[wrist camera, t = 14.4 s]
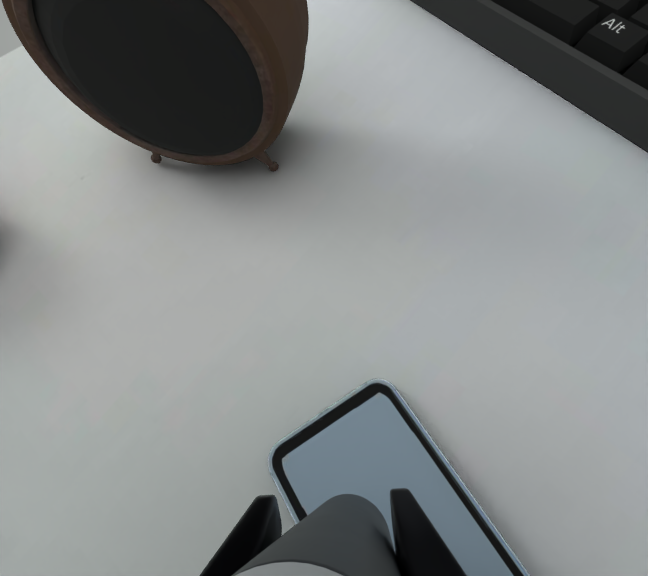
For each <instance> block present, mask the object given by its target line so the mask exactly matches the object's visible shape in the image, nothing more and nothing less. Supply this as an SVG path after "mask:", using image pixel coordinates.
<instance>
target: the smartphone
mask: <svg viewBox="0 0 648 576" xmlns="http://www.w3.org/2000/svg"><path fill="white" fill-rule="evenodd" d="M268 469H269V472H270V474H271V476H272V478H273V480H274V482H275V484H276V486H277V488H278V490H279V492H280V494H281V496H282V498H283V500H284V502H285V504H286V506H287V508H288V510H289V512H290V514H291V516H292V518H293V520H294V522H295V524H298V523H299V522H300V521H301V520H303V519H304V518H305V517H307V516H308V515H309V514H310V513H312V512H313V511H314V510H315V509H317V508H318V507H319V506H320V505H322V504H323V503H324V502H326V501H327V500H328V499H330V498H332V497H334V496H337V495H341V494H355V495H359V496H361V497H364V498H365V499H367V500H369V501H370V502H372V503H373V504H374V505H375V506H376V507H377V508H378V509H379V511H380V512H381V513H382V515H383V516H384V518H385V520H386V522H387V525H388V528H389V532H390V535H391V539H392V543H393V546H394V550H395V545H394V536H393V528H392V518H391V505H390V490H391V489H395V488H407V489H409V490H410V491H411V493H412V494H413V496H414V497H415V499H416V500H417V502H418V503H419V505H420V506H421V508H422V509H423V511H424V512H425V514H426V515H427V517H428V518H429V520H430V521H431V523H432V524H433V526H434V527H435V529H436V530H437V532H438V533H439V535H440V536H441V538H442V539H443V541H444V542H445V544H446V545H447V547H448V548H449V550H450V551H451V553H452V554H453V556H454V557H455V558H456V560H457V561H458V563H459V564H460V566H461V567H462V569H463V570H464V572H465V573H466V575H467V576H530V575H529V573H528V571H527V570H526V568H525V567H524V566H523V564H522V563H521V561H520V560H519V559H518V557H517V556H516V554H515V553H514V552H513V550H512V549H511V548H510V547H509V545H508V544H507V543H506V541H505V540H504V538H503V537H502V536H501V534H500V533H499V532H498V530H497V529H496V527H495V526H494V525H493V523H492V522H491V520H490V519H489V518H488V516H487V515H486V513H485V512H484V511H483V509H482V508H481V506H480V505H479V504H478V502H477V501H476V499H475V498H474V497H473V495H472V494H471V492H470V491H469V490H468V488H467V487H466V485H465V484H464V483H463V481H462V480H461V478H460V477H459V476H458V474H457V473H456V471H455V470H454V469H453V467H452V466H451V464H450V463H449V462H448V460H447V459H446V457H445V456H444V455H443V453H442V452H441V450H440V449H439V448H438V446H437V445H436V444H435V442H434V441H433V439H432V438H431V437H430V435H429V434H428V432H427V431H426V430H425V428H424V427H423V425H422V424H421V423H420V421H419V420H418V418H417V417H416V416H415V414H414V413H413V411H412V410H411V409H410V407H409V406H408V404H407V403H406V402H405V400H404V399H403V397H402V396H401V395H400V393H399V392H398V390H397V389H396V388H395V387H394V385H392V384H391V383H390V382H388V381H386V380H383V379H372V380H369V381H367V382H366V383H364V384H363V385H361V386H360V387H358V388H357V389H355V390H354V391H352V392H351V393H349V394H348V395H346V396H345V397H343V398H342V399H340V400H339V401H337V402H336V403H334V404H333V405H331V406H330V407H328V408H327V409H325V410H324V411H322V412H321V413H319V414H318V415H316V416H315V417H313V418H312V419H310V420H309V421H307V422H306V423H304V424H303V425H301V426H300V427H298V428H297V429H296V430H294V431H293V432H291V433H290V434H288V435H287V436H285V437H284V438H282V439H281V440H279V441H278V442H277V443H276V444H275V445H274V446H273V447H272V449H271V451H270V453H269V456H268Z"/></svg>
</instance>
